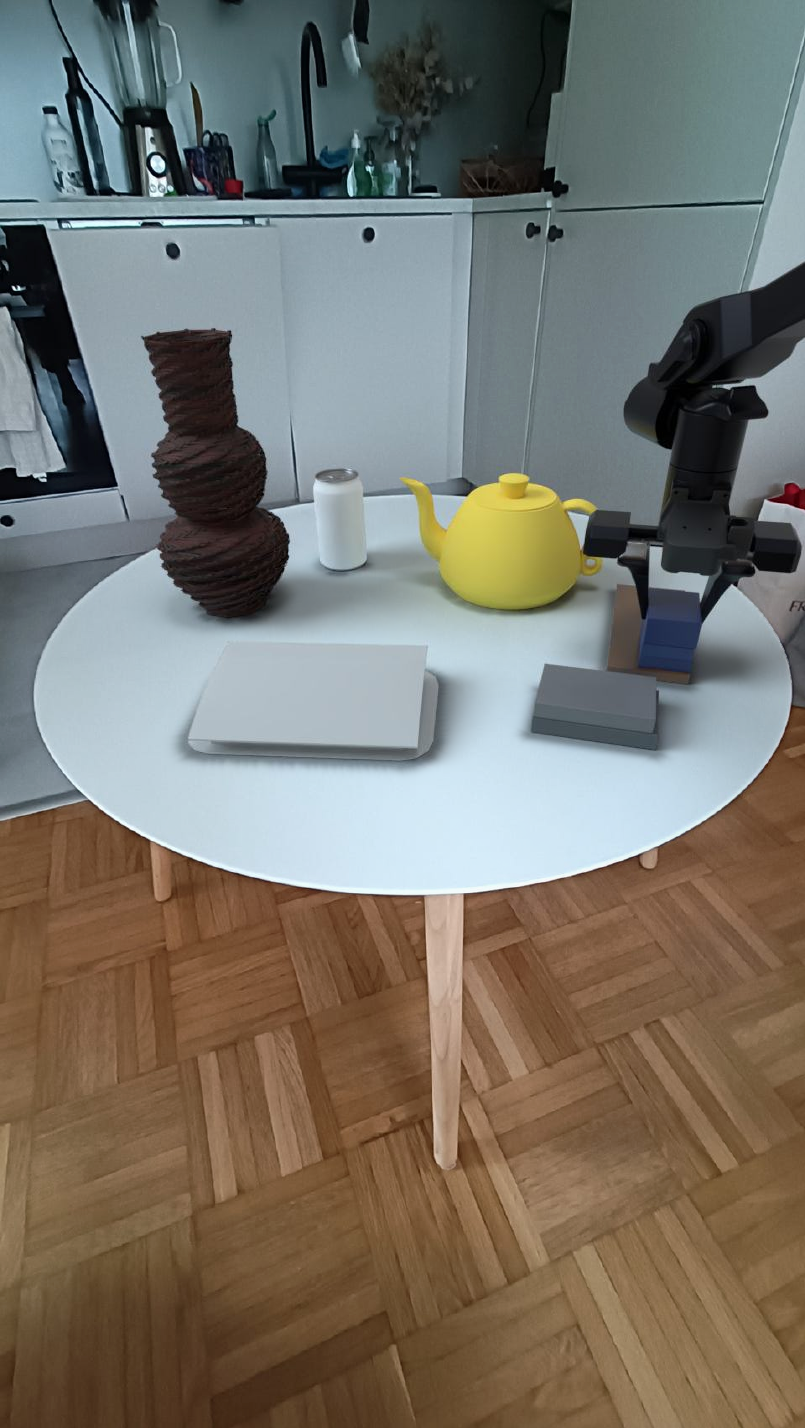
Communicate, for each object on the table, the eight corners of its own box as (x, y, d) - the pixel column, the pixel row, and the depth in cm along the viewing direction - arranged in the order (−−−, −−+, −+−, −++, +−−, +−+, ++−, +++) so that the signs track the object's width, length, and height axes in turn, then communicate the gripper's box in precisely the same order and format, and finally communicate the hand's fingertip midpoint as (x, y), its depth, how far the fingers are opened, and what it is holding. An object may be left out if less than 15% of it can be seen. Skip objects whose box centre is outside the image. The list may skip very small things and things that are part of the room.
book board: (683, 597, 87) (685, 590, 87) (687, 684, 72) (690, 676, 71) (616, 591, 89) (617, 583, 89) (605, 674, 74) (607, 666, 73)
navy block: (644, 611, 76) (648, 587, 75) (693, 616, 75) (699, 592, 74) (642, 643, 71) (647, 618, 69) (696, 649, 70) (702, 623, 68)
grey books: (656, 703, 69) (662, 675, 67) (655, 750, 63) (662, 721, 61) (541, 688, 72) (544, 661, 70) (530, 732, 66) (533, 703, 64)
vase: (146, 624, 86) (72, 344, 68) (211, 572, 98) (163, 323, 80) (262, 640, 82) (214, 347, 64) (315, 584, 94) (287, 324, 76)
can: (356, 549, 103) (350, 464, 96) (374, 565, 98) (369, 477, 91) (313, 558, 100) (304, 472, 93) (330, 575, 96) (322, 485, 89)
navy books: (639, 634, 78) (643, 611, 77) (688, 639, 77) (693, 616, 75) (637, 667, 73) (642, 643, 71) (689, 673, 71) (695, 649, 70)
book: (227, 664, 77) (220, 632, 75) (440, 670, 75) (440, 637, 73) (177, 753, 65) (168, 718, 63) (431, 762, 63) (431, 726, 61)
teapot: (390, 609, 87) (385, 498, 79) (414, 552, 101) (412, 452, 93) (602, 621, 83) (619, 504, 75) (596, 559, 97) (610, 456, 89)
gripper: (588, 485, 60) (568, 648, 69) (837, 500, 55) (781, 673, 64) (598, 449, 68) (579, 598, 77) (813, 459, 64) (767, 616, 73)
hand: (670, 620), depth 73 cm, fingers closed on navy block, 5 cm apart
